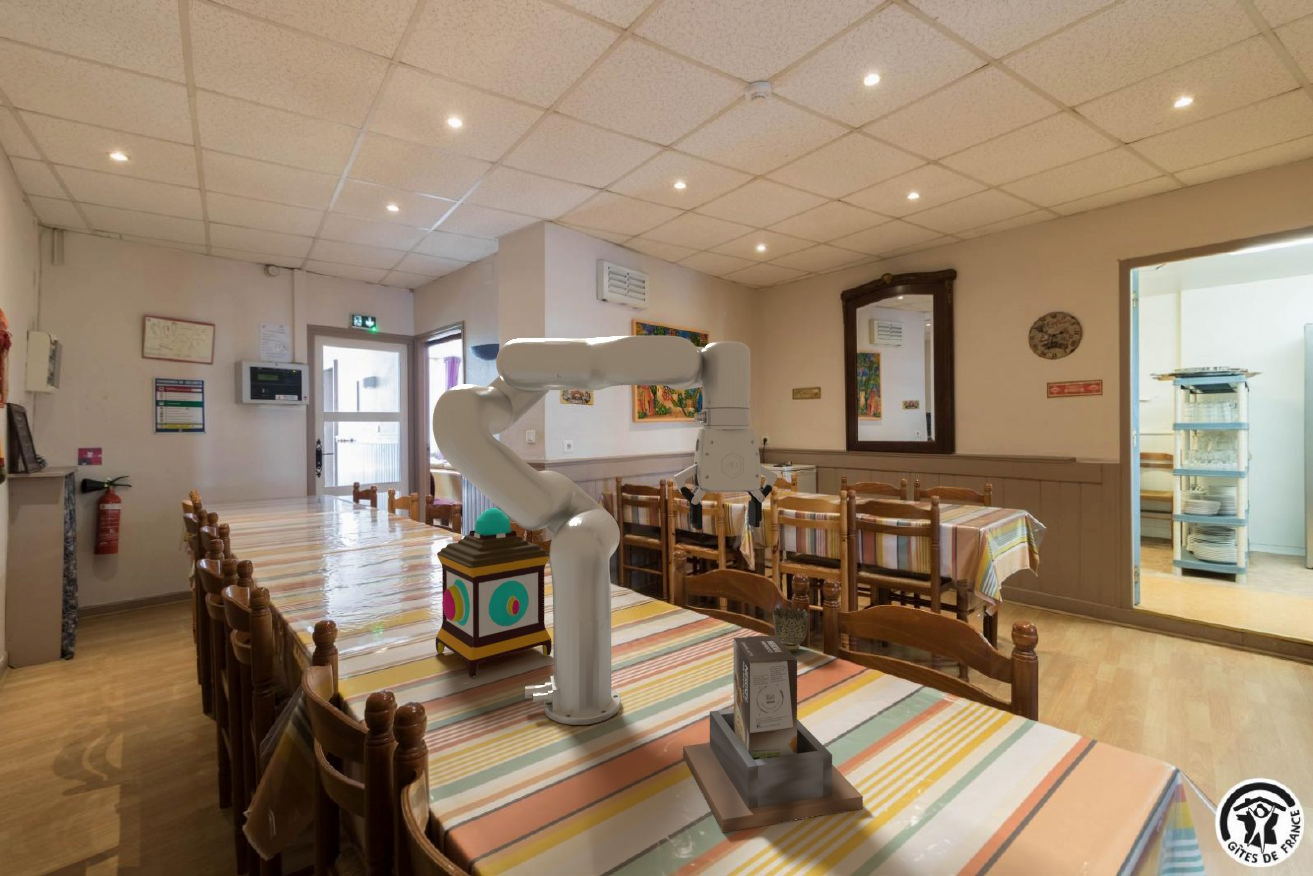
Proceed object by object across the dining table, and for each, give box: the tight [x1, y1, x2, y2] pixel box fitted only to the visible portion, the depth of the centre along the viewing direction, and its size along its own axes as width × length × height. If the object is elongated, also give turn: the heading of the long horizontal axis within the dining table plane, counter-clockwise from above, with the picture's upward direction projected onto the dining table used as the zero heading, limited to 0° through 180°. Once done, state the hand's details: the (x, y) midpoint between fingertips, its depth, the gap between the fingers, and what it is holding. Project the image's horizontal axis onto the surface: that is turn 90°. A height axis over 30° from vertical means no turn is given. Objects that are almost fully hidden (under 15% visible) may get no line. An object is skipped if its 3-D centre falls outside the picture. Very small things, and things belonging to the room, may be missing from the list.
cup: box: [772, 606, 810, 653], centre depth 123 cm, size 7×7×8 cm
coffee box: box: [732, 635, 798, 760], centre depth 77 cm, size 9×6×16 cm
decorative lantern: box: [435, 507, 553, 679], centre depth 120 cm, size 20×20×30 cm
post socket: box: [682, 708, 864, 833], centre depth 77 cm, size 18×16×6 cm
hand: (725, 527), depth 94 cm, fingers open, 9 cm apart
